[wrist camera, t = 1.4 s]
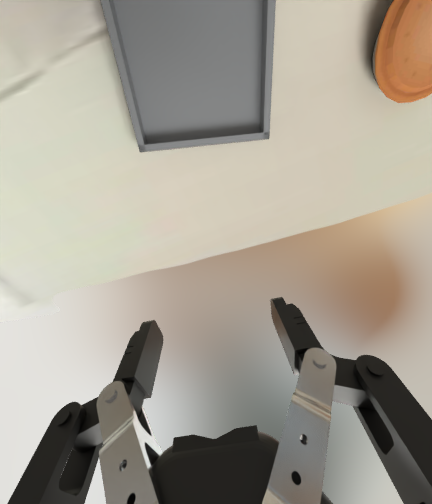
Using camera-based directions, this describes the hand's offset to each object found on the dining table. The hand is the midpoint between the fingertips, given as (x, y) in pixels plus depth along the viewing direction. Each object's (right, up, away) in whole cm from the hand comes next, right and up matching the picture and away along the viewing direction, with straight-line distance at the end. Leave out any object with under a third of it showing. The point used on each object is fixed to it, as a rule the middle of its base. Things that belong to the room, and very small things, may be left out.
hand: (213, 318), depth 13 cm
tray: (-3, +35, +15) cm, 38 cm away
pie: (+30, +37, +17) cm, 51 cm away
